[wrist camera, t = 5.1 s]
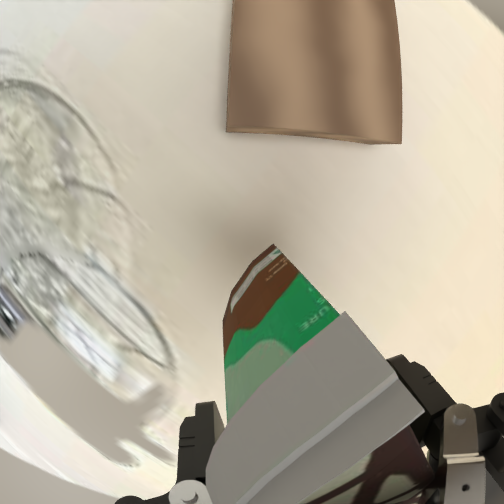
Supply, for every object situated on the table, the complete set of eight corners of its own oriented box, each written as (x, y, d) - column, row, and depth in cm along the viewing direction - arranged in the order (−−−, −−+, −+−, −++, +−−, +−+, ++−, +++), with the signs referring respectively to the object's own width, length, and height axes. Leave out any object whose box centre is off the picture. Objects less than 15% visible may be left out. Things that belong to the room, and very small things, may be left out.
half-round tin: (136, 301, 12) (82, 529, 3) (253, 214, 12) (418, 390, 3) (282, 433, 17) (332, 567, 7) (365, 380, 16) (452, 502, 7)
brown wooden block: (226, 132, 26) (228, 125, 20) (234, -26, 20) (239, -58, 15) (368, 144, 27) (401, 143, 22) (364, -5, 22) (389, -27, 16)
